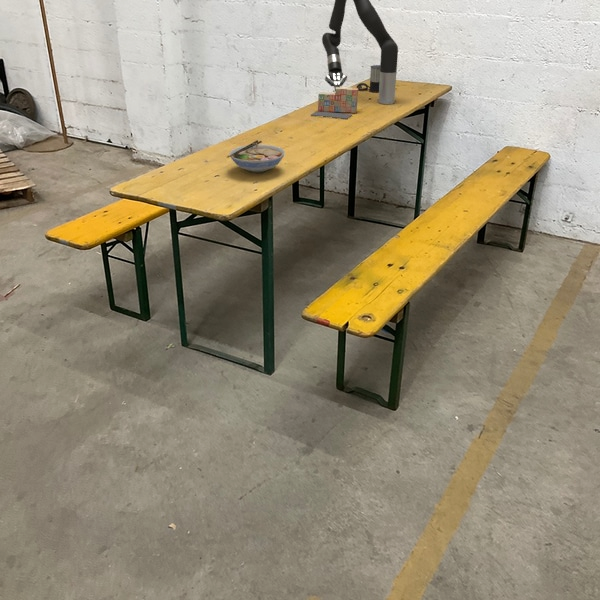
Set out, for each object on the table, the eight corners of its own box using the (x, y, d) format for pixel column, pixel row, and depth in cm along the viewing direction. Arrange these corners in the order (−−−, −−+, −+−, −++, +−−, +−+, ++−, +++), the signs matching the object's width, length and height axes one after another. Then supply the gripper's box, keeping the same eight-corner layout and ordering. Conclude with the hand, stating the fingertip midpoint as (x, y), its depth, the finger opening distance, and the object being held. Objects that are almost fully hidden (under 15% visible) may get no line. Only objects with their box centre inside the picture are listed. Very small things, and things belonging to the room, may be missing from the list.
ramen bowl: (265, 183, 243) (264, 162, 239) (217, 174, 253) (216, 154, 249) (296, 165, 262) (296, 146, 258) (251, 157, 272) (250, 139, 268)
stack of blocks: (317, 111, 341) (318, 88, 335) (318, 109, 346) (319, 86, 341) (356, 113, 339) (358, 89, 334) (357, 110, 345) (358, 87, 339)
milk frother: (385, 92, 386) (387, 67, 378) (361, 93, 383) (362, 68, 376) (378, 87, 398) (379, 63, 390) (354, 89, 395) (355, 64, 388)
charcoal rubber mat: (316, 112, 343) (316, 111, 342) (352, 115, 335) (352, 114, 335) (310, 115, 335) (310, 114, 335) (347, 119, 328) (347, 118, 328)
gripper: (323, 61, 346) (326, 88, 342) (347, 60, 347) (350, 87, 343) (322, 69, 353) (325, 96, 349) (344, 68, 355) (348, 95, 350)
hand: (337, 91), depth 346 cm, fingers closed
